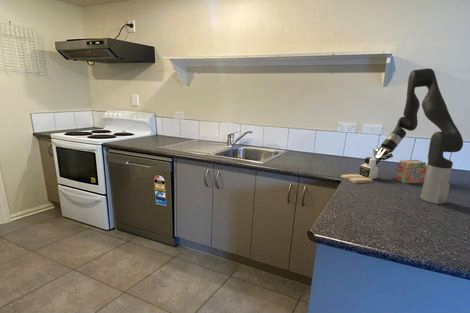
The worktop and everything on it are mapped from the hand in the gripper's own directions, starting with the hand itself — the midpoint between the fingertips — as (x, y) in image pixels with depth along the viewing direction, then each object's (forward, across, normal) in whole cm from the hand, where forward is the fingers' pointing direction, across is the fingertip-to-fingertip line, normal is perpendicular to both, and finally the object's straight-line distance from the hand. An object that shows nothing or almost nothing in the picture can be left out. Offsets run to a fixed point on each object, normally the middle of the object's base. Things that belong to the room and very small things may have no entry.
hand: (374, 163), depth 163 cm
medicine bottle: (+9, 0, +4) cm, 9 cm away
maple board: (+16, +1, -4) cm, 17 cm away
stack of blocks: (-7, +14, +19) cm, 25 cm away
